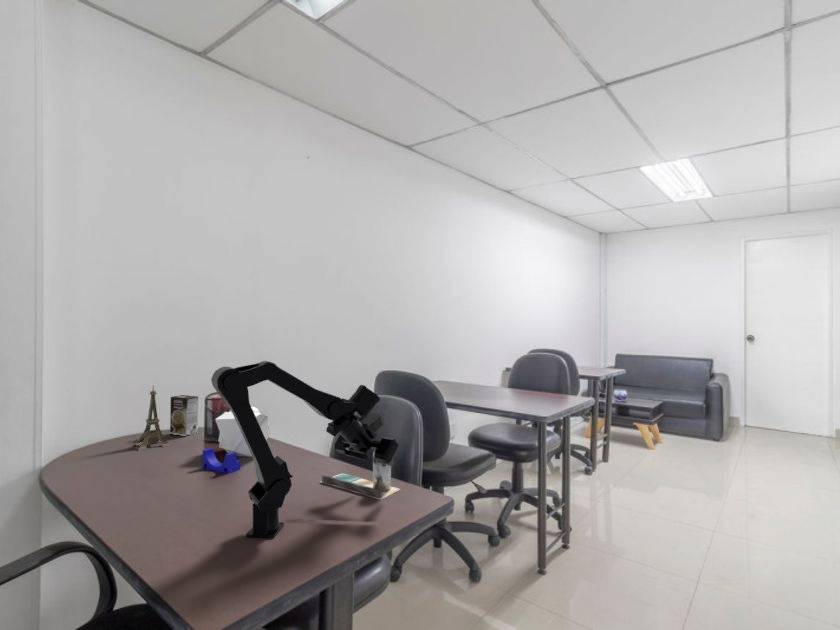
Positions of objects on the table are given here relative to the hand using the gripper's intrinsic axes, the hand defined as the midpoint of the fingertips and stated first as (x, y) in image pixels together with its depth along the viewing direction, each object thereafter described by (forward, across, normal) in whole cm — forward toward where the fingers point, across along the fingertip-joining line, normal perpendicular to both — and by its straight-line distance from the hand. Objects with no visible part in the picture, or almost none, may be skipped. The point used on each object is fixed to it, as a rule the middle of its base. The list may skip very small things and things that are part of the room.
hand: (379, 461), depth 124 cm
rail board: (+6, +7, +6) cm, 11 cm away
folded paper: (+7, +64, +6) cm, 64 cm away
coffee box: (+8, +110, +4) cm, 110 cm away
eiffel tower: (-3, +103, +15) cm, 104 cm away
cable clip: (-3, +56, +16) cm, 58 cm away
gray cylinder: (+6, 0, +5) cm, 8 cm away
